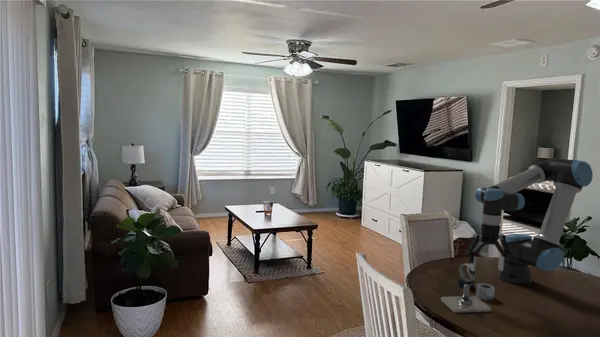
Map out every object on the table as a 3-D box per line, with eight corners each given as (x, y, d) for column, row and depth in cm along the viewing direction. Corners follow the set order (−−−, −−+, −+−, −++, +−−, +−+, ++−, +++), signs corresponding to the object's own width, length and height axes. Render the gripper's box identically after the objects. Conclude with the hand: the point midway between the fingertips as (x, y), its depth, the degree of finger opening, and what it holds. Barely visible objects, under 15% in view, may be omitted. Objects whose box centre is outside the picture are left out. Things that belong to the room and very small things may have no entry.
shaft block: (474, 299, 183) (476, 279, 182) (490, 311, 172) (492, 290, 171) (440, 300, 181) (442, 280, 180) (454, 312, 169) (456, 291, 168)
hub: (487, 293, 190) (488, 283, 190) (496, 300, 183) (497, 289, 183) (473, 294, 189) (474, 283, 189) (481, 300, 182) (482, 289, 182)
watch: (469, 290, 193) (471, 267, 192) (455, 284, 200) (457, 262, 199) (477, 288, 196) (479, 266, 195) (462, 282, 203) (464, 261, 201)
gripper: (511, 221, 188) (506, 267, 190) (460, 221, 184) (456, 267, 187) (522, 226, 181) (517, 272, 183) (469, 225, 177) (465, 273, 179)
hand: (486, 270), depth 185 cm, fingers open, 13 cm apart
